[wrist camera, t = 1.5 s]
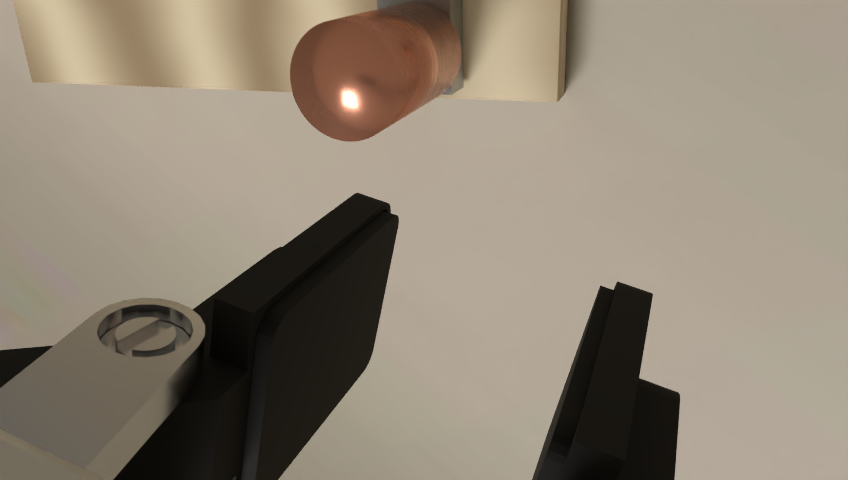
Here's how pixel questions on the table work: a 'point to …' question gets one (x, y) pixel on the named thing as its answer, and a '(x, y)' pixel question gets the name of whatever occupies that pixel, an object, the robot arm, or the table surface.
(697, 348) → the table surface
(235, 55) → the board
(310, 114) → the lever
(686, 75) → the table surface
